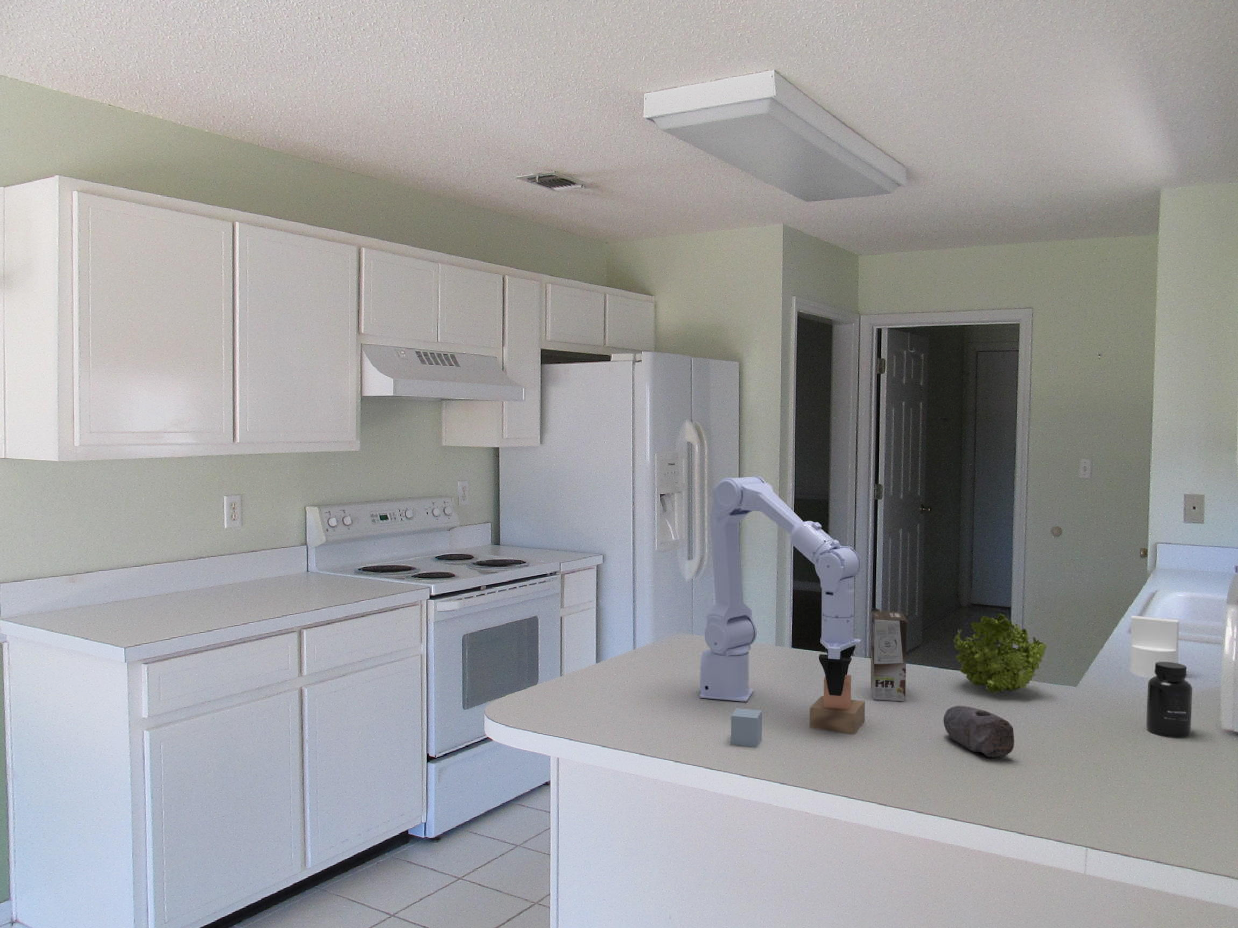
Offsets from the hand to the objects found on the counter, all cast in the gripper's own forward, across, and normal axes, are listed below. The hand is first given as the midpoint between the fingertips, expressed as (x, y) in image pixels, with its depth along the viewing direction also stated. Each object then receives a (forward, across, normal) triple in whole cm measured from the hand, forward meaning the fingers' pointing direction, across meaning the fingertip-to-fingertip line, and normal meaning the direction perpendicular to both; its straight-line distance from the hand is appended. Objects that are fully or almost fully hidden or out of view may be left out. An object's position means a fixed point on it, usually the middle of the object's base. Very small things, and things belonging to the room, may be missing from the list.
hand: (837, 689), depth 173 cm
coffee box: (+7, +22, -8) cm, 24 cm away
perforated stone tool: (+7, -6, -23) cm, 25 cm away
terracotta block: (+3, 0, 0) cm, 3 cm away
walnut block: (+7, 0, 0) cm, 7 cm away
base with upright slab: (+7, +55, -62) cm, 83 cm away
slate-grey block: (+6, -14, +14) cm, 21 cm away
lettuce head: (+7, +32, -28) cm, 43 cm away
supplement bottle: (+7, +13, -56) cm, 58 cm away
